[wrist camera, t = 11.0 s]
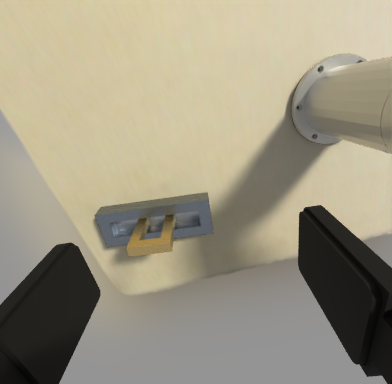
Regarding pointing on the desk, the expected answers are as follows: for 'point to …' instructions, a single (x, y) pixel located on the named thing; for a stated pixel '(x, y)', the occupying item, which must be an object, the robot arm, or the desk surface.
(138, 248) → the wooden u-shaped block
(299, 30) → the desk surface
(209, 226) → the rail
